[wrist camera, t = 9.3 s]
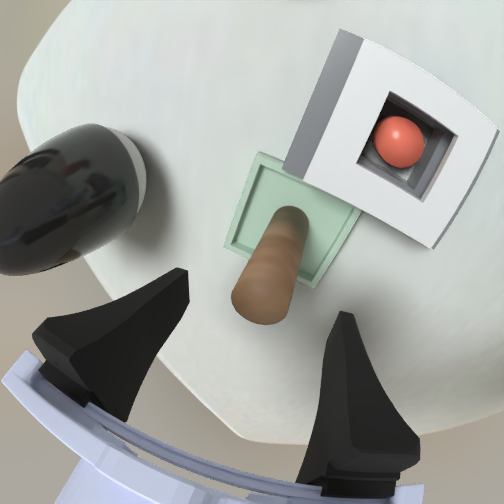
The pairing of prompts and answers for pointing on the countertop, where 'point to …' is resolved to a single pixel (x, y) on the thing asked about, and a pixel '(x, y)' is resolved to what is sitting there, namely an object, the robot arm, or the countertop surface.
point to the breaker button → (398, 141)
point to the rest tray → (290, 194)
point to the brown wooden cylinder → (272, 269)
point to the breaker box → (361, 124)
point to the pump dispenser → (69, 199)
